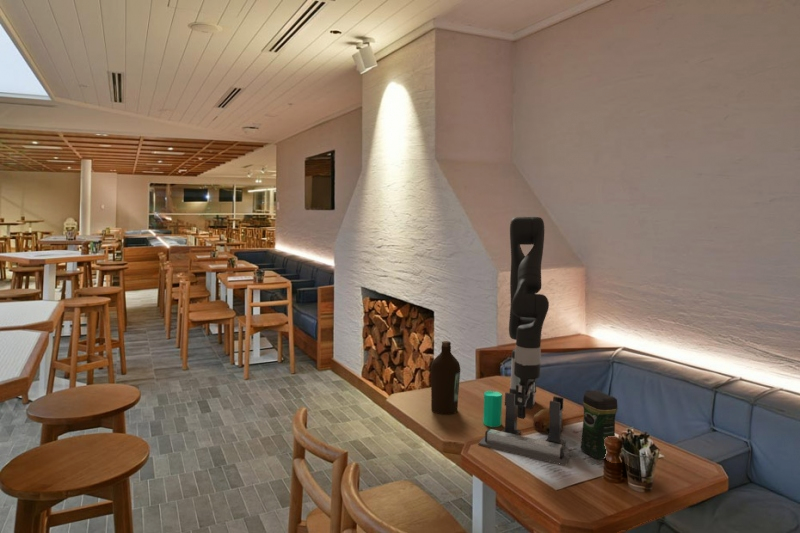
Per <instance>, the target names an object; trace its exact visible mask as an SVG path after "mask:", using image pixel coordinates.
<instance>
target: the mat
mask: <svg viewBox="0 0 800 533" xmlns="http://www.w3.org/2000/svg"><path fill="white" fill-rule="evenodd" d="M478 445H479V446H481V447H482V446H483V447H487V448H491V449H495V450H500V451H504V452H507V453H512V454H516V455H521V456H524V457H528V458H532V459H537V460H541V461H544V462H545V461H546V462H549V461H550V463H553V462H555V463H554V464H557V463H558V465H561V464H564V465H563V466H566V465H567V464H568V462H569V459H570V458H569V457H571V453H568V452H564V456H563V458H562V459H558V458H554V457H550V456H546V455H541V454H537V453H533V452H528V451H524V450H520V449H516V448H511V447H507V446H503V445H498V444H494V443H490V442H485V436H483V437H482V439H481V440H480V441H479V442H478ZM559 463H560V464H559Z"/></svg>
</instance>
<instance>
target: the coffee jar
mask: <svg viewBox="0 0 800 533" xmlns="http://www.w3.org/2000/svg"><path fill="white" fill-rule="evenodd" d="M582 405H583V406H582V407H583V418H582V419H583V420H582V421H583V422H582V430H581V431H582V432H581V439H580V449H581V450H582V451H583V452H584V453H585V454H587V455H589V456H591V457H593V458H595V459H600V460H601V459H602V460H605V459H604V457H605V454H606V449H605V446H604V439H605V438H606V437H608V436H615V434H616V431H615V429H616V427H615V426H616V415H617V412H618V398H616V397H615V396H611V395H609V394H607V393H605V392H602V391H600V390H598V389H589V390H586V391H585V392H584V394H583V399H582ZM615 437H616V436H615Z"/></svg>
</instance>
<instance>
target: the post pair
mask: <svg viewBox="0 0 800 533" xmlns="http://www.w3.org/2000/svg"><path fill="white" fill-rule="evenodd" d="M515 396H516V389H511V387H509V392H505V393H504V406H505V417H504V418H505V420H504V422H505V423H504V428H503V429H502V430H501V432H506V433H510V434H515V435H520V434H521V432H522V431H521V429H518V427H517V426H518V417H517V412H518V405H515ZM564 399H565V398H564V397H562V396H561V397H560V396H554V395H553V396H552V400H550V401H549V407H548V408H549V409H548V410H549V414H550V425H549V433H548V436H547V438H546V439H545V441H547V442H551V443H556V444H560V445H565V441H566V440H565V439H562V431H561V424H562V419H563V411H564Z"/></svg>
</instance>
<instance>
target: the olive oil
mask: <svg viewBox="0 0 800 533" xmlns="http://www.w3.org/2000/svg"><path fill="white" fill-rule="evenodd" d="M451 344H452V342H451V341H446V340H443V341H441V346H440V347H441V349H440V350H441V352H440V353H439V354H438V355H437V356H436V357H435V358H434V359H433V360H432V362H431V364H430V365H431V366H430V387H431V388H430V390H431V394H430V395H431V401H430V402H431V404H430V405H431V411H432V412H434V413H435V412H436V414H439V415H453V414H456V413H457V412H458V406H459V405H458V404H459V392H460V380H461V365H460V361H458V359H457V357H455V356H454V354H452V352H451V351H452V350H451V349H452V346H451Z"/></svg>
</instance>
